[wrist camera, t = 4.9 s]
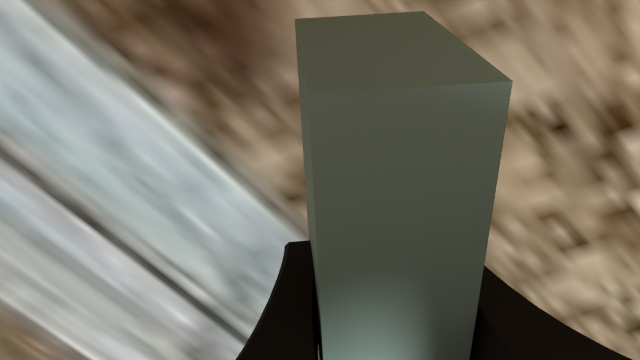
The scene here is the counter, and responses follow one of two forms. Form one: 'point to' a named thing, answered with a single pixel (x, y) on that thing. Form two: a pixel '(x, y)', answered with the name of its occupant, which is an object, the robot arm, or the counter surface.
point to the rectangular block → (397, 182)
